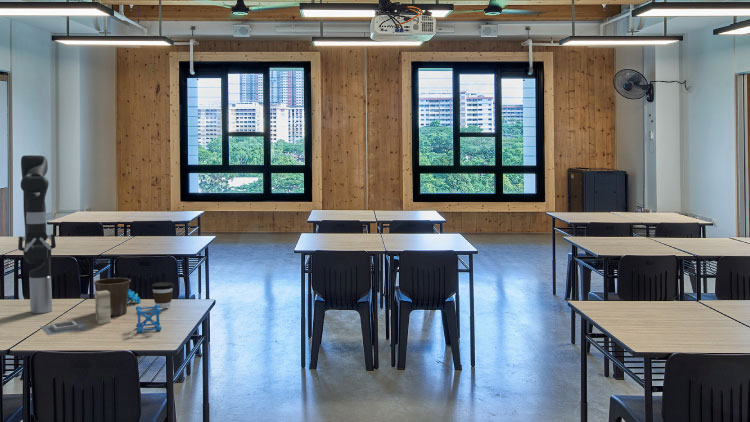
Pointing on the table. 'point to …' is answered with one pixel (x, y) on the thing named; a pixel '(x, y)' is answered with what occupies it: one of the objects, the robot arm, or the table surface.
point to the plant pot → (115, 293)
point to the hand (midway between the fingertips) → (37, 258)
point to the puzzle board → (64, 327)
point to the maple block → (102, 307)
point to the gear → (133, 297)
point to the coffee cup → (162, 293)
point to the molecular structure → (148, 318)
